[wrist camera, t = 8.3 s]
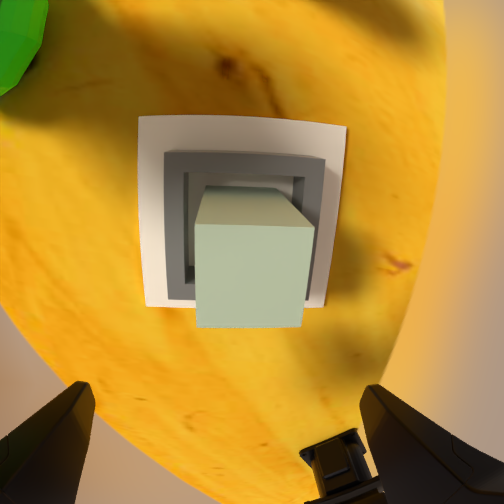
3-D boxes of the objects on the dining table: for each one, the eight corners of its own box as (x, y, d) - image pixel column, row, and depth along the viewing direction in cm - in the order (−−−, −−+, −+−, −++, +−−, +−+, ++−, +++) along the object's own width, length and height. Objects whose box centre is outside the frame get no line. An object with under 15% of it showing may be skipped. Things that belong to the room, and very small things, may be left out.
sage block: (275, 187, 18) (314, 227, 11) (270, 252, 19) (300, 326, 12) (205, 185, 18) (194, 224, 10) (205, 251, 19) (196, 327, 12)
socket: (344, 126, 17) (364, 126, 15) (321, 304, 22) (334, 327, 19) (140, 116, 16) (125, 113, 13) (147, 303, 20) (138, 327, 18)
